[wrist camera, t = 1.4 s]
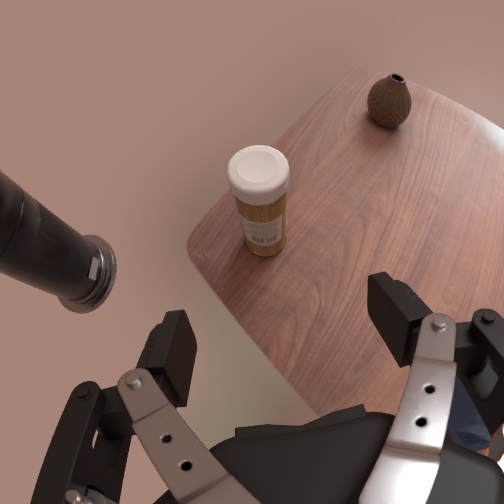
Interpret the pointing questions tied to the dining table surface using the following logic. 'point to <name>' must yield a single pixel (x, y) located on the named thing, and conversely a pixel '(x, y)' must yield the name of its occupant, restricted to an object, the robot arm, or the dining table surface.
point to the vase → (389, 101)
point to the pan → (466, 420)
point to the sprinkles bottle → (260, 196)
